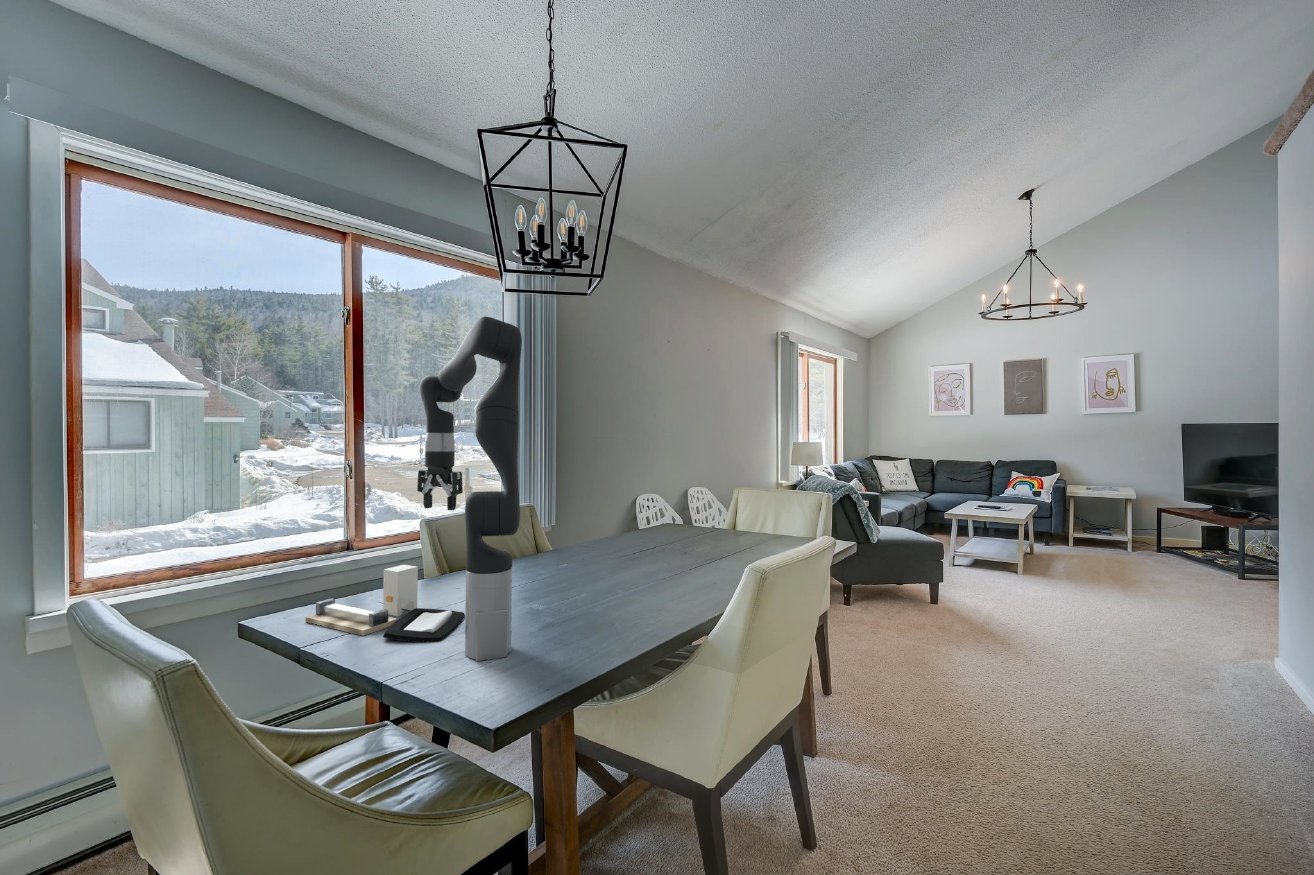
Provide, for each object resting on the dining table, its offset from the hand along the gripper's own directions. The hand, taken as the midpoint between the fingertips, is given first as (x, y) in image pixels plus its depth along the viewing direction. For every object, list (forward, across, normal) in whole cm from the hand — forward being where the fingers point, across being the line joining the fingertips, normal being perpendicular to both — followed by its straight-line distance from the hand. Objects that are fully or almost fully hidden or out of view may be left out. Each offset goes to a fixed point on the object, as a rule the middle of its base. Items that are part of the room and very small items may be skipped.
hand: (439, 509), depth 157 cm
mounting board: (+24, +3, +24) cm, 35 cm away
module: (+24, 0, +13) cm, 28 cm away
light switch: (+25, -16, +18) cm, 35 cm away
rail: (+23, +3, +24) cm, 34 cm away
